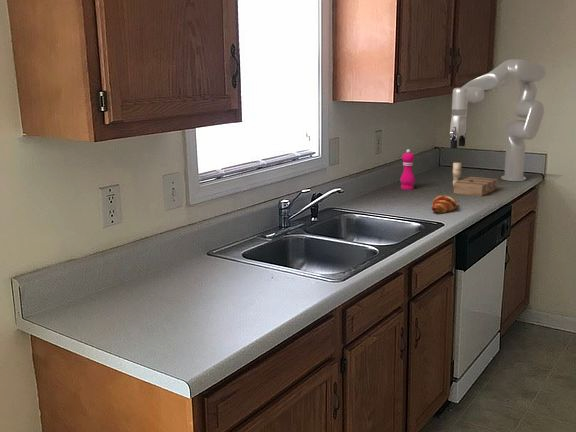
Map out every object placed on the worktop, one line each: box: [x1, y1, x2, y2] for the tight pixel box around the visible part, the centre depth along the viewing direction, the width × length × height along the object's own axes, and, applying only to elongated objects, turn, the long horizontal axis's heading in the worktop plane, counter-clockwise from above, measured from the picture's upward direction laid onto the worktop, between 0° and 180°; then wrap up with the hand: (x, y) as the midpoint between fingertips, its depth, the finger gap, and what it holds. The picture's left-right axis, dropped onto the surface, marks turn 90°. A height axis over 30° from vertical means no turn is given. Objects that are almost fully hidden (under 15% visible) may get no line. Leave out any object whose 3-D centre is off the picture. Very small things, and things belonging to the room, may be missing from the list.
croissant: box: [431, 195, 458, 214], centre depth 282 cm, size 21×10×8 cm, turn 143°
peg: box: [452, 161, 462, 187], centre depth 331 cm, size 4×4×12 cm
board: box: [453, 176, 498, 197], centre depth 318 cm, size 20×14×5 cm
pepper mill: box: [399, 149, 416, 191], centre depth 326 cm, size 7×7×20 cm
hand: (457, 147), depth 327 cm, fingers open, 9 cm apart
